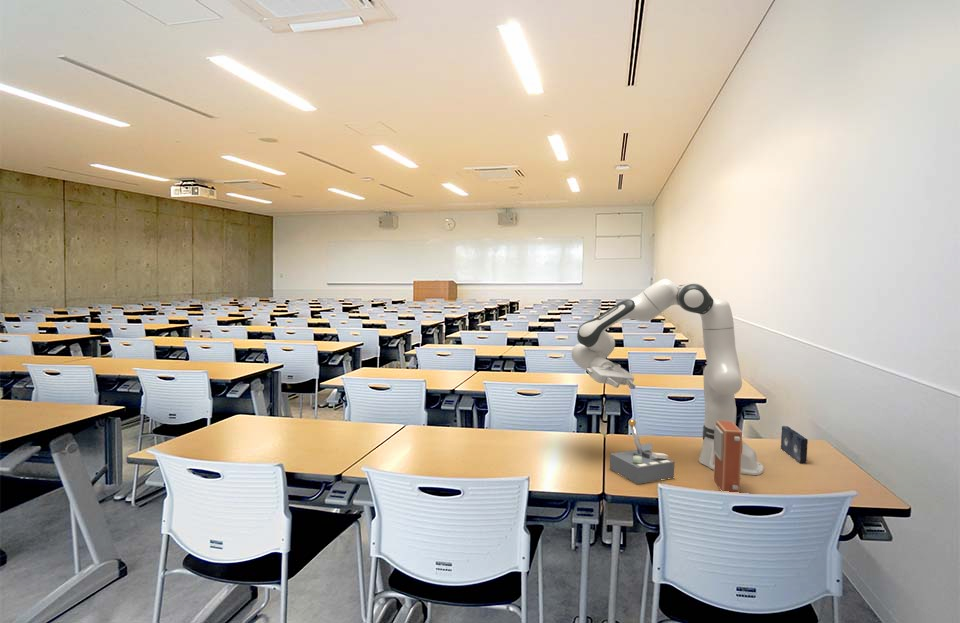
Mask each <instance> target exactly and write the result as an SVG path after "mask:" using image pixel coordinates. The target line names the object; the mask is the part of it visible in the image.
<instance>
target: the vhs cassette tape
mask: <svg viewBox="0 0 960 623" xmlns="http://www.w3.org/2000/svg"><path fill="white" fill-rule="evenodd" d="M780 438H781V439H780V443H781V444H780V450H781V449H782V451H783V452H784V451H785V452H786V453H785V452H784V453H785V454H786V455H788V456H789V455H790V456H789V457H791V459H793V460H794V459H795V461H796V462H797V463H799V464H800V465H806V464H807V459H808V458H807V457H808V445H809V444H808V442H809V441H808V440H809V439H808V438H805V437H804V436H803V435H801V434H800V433H798V432H797V431H795V430H794V429H792V428H791V427H790V426H789V425H788V426H787V425H781V437H780Z"/></svg>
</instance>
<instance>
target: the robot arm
mask: <svg viewBox="0 0 960 623" xmlns="http://www.w3.org/2000/svg"><path fill="white" fill-rule="evenodd" d="M675 305H676V306H679V307H680V308H681V309H683V310H684V311H686V312H689V313H692V314H698V315H700V318H701V324H702V325H701V327H702V341H703V351H704V353H705V360H706V365H705V367H704V369H703V373H702V374H703V393H704V394H703V395H704V424H703V426H702V447H701V451H700V455H699V458H698V462H699V463H700V464H702V465H703V466H705V467H708V468H709V469H710V470H713V471H714V467H715V453H714V451H713V450H714V429H715V427H714V426H715V425H716V421H730V422H733V423H734V424H735V425H736V424H737V406H736V399H735V398H736V397H735V395H736V394H737V393H739V392H740V390H741V389H742V385H743V380H742V376H741V367H740V364H739V359H738V354H737V349H736V338H735V337H736V336H735V326H734V324H735V323H734V317H733V313H732V308H731V305H730V303H729V302H728V301H727V300H724V299H722V298H713V297H712V296H711V294H710V293H709V292H708V290H707V289H706V288H705V287H704V286H703V285H701V284H699V283H695V282H690V283H689V282H688V283H686V284H681V285H678V284H677V283H675V282H674V281H673V280H671V279H669V278H662V279H659V280H658V281H656V282H655V283H652V284H651V285H650V286H648V287H647V288H645V289H644V290H643V291H641V293H639V294H638V295H636V296H634V297H631V298H630V299H625V300H622V301H620V302H618V303H617V304H615V305H614V306H612V307H610V308H608V309H607V310H606V311H604V312H602V313H601V314H600V315H597V316H596V317H594V318H593V319H590V320H588V321H584V323H582V324H581V325H580V326H579V328H578V329H577V335H576V337H577V341H578V343H577V344H575V345H574V346H573V348H572V350H571V358H572V360H573V362H574V363H575V364H576V365H577V366H578V367H579V368H581V369H583V371H586V372H587V373H588V376H589V377H590V378H592V379H593V380H594V381H595V382H596V383H599V384H607V385H609V386H612V387H613V388H616V389H617V388H620V385H621V386H628V388H629V389H631V390H635V388H636V384H635V383H634V381H635V377H634V375H632V374H631V373H630V372H629V371H628V370H626V369H624V368H623V367H622V366H621V364H619V363H617V362H613V361H610V360H609V359H607V358H608V357H609V356H610V355H611V353H612V352H613V351H614V350H615V347H616V340H615V338H614V337H613V336H612V335H611V333H610V334H609V332H607V331H606V330H607V329H609V328H610V327H612V326H613V325H616V324H617V323H618V322H620V321H623V320H627V319H629V320H635V321H638V322H639V321H640V322H649V321H652V320H653V319H655V318H656V317H659V315H661V314H662V313H663V312H664V311H665V310H667V309H668V308H670V307H672V306H675ZM736 426H737V425H736ZM755 451H756V450H754V449H753V448H752V447H751V446H749V444H748V443H746V442H745V441H743V440H742V454H741V471H740V475H742V474H744V475H749V476H750V475H751V476H759V475H761V474H763V472H764V465H763V464H762V463H761V462H760V461H758V457H757V453H756V452H755Z"/></svg>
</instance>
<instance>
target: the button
mask: <svg viewBox="0 0 960 623" xmlns="http://www.w3.org/2000/svg"><path fill="white" fill-rule="evenodd" d="M633 463H636V464H641V463H642V457H641V456H637V455H636V456H633Z"/></svg>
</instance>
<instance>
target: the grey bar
mask: <svg viewBox="0 0 960 623" xmlns="http://www.w3.org/2000/svg"><path fill="white" fill-rule="evenodd" d="M641 447H642V451H647V450H649V451H652V450H653V449H654V448H653V445H652V443H646V444H641Z"/></svg>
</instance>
